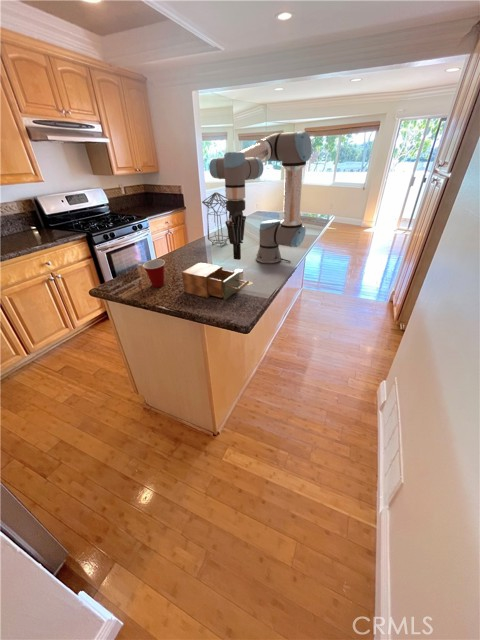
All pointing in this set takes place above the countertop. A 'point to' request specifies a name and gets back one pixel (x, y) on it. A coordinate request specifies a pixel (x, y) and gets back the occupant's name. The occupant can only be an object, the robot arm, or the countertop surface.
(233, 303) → the countertop surface
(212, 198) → the geometric lantern
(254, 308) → the countertop surface
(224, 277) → the drawer
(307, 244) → the countertop surface
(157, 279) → the plastic cup
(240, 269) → the salt shaker
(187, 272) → the cabinet
